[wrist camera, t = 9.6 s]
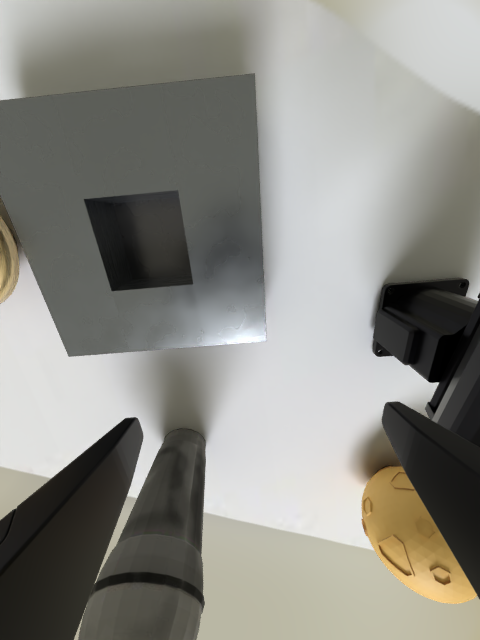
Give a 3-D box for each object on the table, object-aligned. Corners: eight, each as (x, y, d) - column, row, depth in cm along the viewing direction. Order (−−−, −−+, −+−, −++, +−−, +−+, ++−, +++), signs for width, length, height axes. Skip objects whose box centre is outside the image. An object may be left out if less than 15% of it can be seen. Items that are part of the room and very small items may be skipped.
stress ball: (413, 485, 30) (517, 508, 21) (406, 586, 25) (539, 668, 16) (350, 444, 29) (432, 451, 21) (330, 539, 24) (428, 599, 16)
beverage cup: (141, 423, 24) (-160, 1055, 6) (210, 414, 24) (116, 1061, 5) (162, 470, 27) (3, 998, 9) (224, 462, 27) (194, 1000, 8)
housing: (250, 111, 15) (254, 73, 11) (261, 319, 20) (266, 341, 16) (30, 133, 15) (-39, 104, 11) (99, 332, 20) (68, 356, 17)
